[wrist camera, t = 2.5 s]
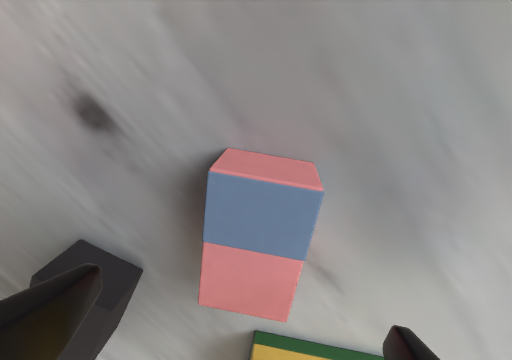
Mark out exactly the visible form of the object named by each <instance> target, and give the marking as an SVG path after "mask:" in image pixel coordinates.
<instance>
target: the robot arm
mask: <svg viewBox="0 0 512 360" xmlns="http://www.w3.org/2000/svg"><path fill="white" fill-rule="evenodd" d="M102 286H103V283H102V274H101V268H100V266H99V265H95V264H90V263H85V264H82V265H80V266H78V267H76V268H73V269H71V270H69V271H67V272H64V273H62V274H60V275H58V276H55V277H53V278H51V279H49V280H46V281H44V282H42V283H40V284H37V285H35V286H33V287H31V288H28V289H26V290H24V291H22V292H19V293H17V294H15V295H13V296H10V297H8V298H6V299H4V300H1V301H0V360H57V359H58V357H59V356H60V355H61V353H62V352H63V351H64V349H65V348H66V346H67V345H68V344H69V342H70V341H71V339H72V338H73V336H74V334H75V333H76V331H77V330H78V328H79V326H80V325H81V323H82V322H83V320H84V318H85V317H86V315H87V314H88V312H89V310H90V309H91V307H92V306H93V304H94V302H95V301H96V299H97V298H98V296H99V294H100V293H101V290H102ZM383 355H384V360H440V359H439V358H438V357H437V356H436V355H435V354H434V353H433V352H432V351H431V350H430V349H429V348H428V347H427V346H426V345H425V344H424V343H423V342H422V341H421V340H420V339H419V338H418V337H417V336H416V335H415V334H414V333H413V332H412V331H411V330H410V329H409V328H406V327H402V326H397V325H394V326H392V327H391V329H390V331H389V333H388V335H387V337H386V339H385V341H384V343H383Z"/></svg>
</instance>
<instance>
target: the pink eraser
mask: <svg viewBox="0 0 512 360" xmlns="http://www.w3.org/2000/svg"><path fill="white" fill-rule="evenodd" d="M323 195H324V191H323V187H322V184H321V181H320V179H319V176H318V173H317V171H316V168H315V165H314V163H312V162H306V161H300V160H294V159H289V158H283V157H277V156H272V155H266V154H260V153H255V152H249V151H243V150H238V149H232V148H227V149H226V150H225V152H224V153H223V154H222V155H221V156H220V157H219V158H218V160H217V161H216V162H215V163H214V164H213V165H212V166H211V167H210V169H209V171H208V174H207V186H206V198H205V210H204V223H203V235H202V241H203V250H202V262H201V273H200V285H199V297H198V304H199V305H203V306H208V307H213V308H218V309H223V310H228V311H233V312H237V313H242V314H247V315H252V316H257V317H262V318H267V319H272V320H276V321H281V322H287V319H288V315H289V312H290V308H291V305H292V301H293V297H294V294H295V290H296V287H297V283H298V279H299V276H300V272H301V269H302V265H303V261H305V259H306V255H307V252H308V248H309V245H310V241H311V237H312V234H313V230H314V227H315V223H316V220H317V216H318V212H319V209H320V205H321V202H322V198H323Z"/></svg>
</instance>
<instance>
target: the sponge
mask: <svg viewBox="0 0 512 360" xmlns="http://www.w3.org/2000/svg"><path fill="white" fill-rule="evenodd" d="M249 360H384V357H380V356H375V355H370V354H365V353H360V352H356V351H351V350H346V349H341V348H336V347H331V346H327V345H322V344H317V343H312V342H307V341H303V340H298V339H293V338H288V337H283V336H279V335H274V334H269V333H264V332H259V331H255V335H254V340H253V345H252V349H251V354H250V359H249Z"/></svg>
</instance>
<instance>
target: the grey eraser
mask: <svg viewBox="0 0 512 360" xmlns="http://www.w3.org/2000/svg"><path fill="white" fill-rule="evenodd" d="M85 263H90V264H95V265H99V266H100V268H101V274H102V283H103V286H102V290H101V293H100V294H99V296H98V298H97V299H96V301H95V302H94V304H93V306H92V307H91V309H90V310H89V312H88V314H87V315H86V317H85V318H84V320H83V322H82V323H81V325H80V326H79V328H78V330H77V331H76V333H75V334H74V336H73V338H72V339H71V341H70V342H69V344H68V345H67V346H66V348H65V349H64V351H63V352H62V353H61V355H60V356H59V357H58V359H57V360H95V359H96V357H97V356H98V354H99V353H100V351H101V350H102V348H103V347H104V345H105V344H106V343H107V341H108V340H109V338H110V337H111V335H112V334H113V332H114V331H115V329H116V328H117V326H118V324H119V322H120V320H121V317H122V315H123V313H124V311H125V309H126V307H127V304H128V302H129V300H130V298H131V296H132V294H133V292H134V289H135V287H136V285H137V283H138V281H139V279H140V277H141V274H142V272H143V270H142V269H140V268H138V267H136V266H134V265H132V264H130V263H128V262H126V261H124V260H121V259H119V258H117V257H115V256H113V255H111V254H109V253H107V252H105V251H103V250H101V249H99V248H97V247H95V246H93V245H91V244H89V243H87V242H85V241H83V240H79V241H78V242H76V243H75V244H74V245H72V246H71V247H70V248H68V249H67V250H66V251H64V252H63V253H62V254H61V255H59V256H58V257H57V258H55V259H54V260H53V261H51V262H50V263H49V264H47V265H46V266H45V267H43V268H42V269H41V270H39V271H38V272H37V273H36V274H34V275H33V276H32V279H31V283H30V288H31V287H33V286H35V285H37V284H40V283H42V282H44V281H46V280H49V279H51V278H53V277H55V276H58V275H60V274H62V273H64V272H67V271H69V270H71V269H73V268H76V267H78V266H80V265H82V264H85Z"/></svg>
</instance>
